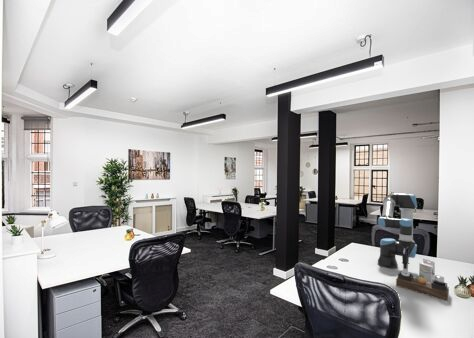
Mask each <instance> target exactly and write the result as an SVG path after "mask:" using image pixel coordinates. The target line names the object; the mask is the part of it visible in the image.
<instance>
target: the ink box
mask: <svg viewBox="0 0 474 338" xmlns="http://www.w3.org/2000/svg"><path fill="white" fill-rule="evenodd" d="M418 268H419V271H418V272H419V273H418V276H419V277H422V278H425V279H426V281H428V282H431V283H432V280H435V275H436V273H435V272H436V266H435V261H433V260H430V259H426V258H422V262H419V267H418Z"/></svg>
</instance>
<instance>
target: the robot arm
mask: <svg viewBox="0 0 474 338" xmlns="http://www.w3.org/2000/svg"><path fill="white" fill-rule="evenodd" d="M382 205H383V209H382V215H381V216H379V217H378V218H377V219H378V220H377V223H378V224H377V225H378V226H379V227H381V228H389V229H396V230H399V238H398V241H397V240H396V239H394V238H391V237H390V238H382V239H380V243H379V245H380V246H379V257H378V259H377V265H379V266H381V267H384V268H386V269H387V268H388V269H397V268H398V267H399V266H398V262H397V259H396V256H400V257H402V262H401V264H402V272H403V273H407V274H408V273H409V264H410V262H409V259H410V258H412V259H414V258H415V257H416V254H417V250H418V249H417V248H418V245H417V244H416V242H415V240H414V235H413V234H414V223H413V222H414V211H415V210H416V209H417V208H418V202H417V198H416V195H415V194H413V193H402V192H401V193H399V192H398V193H396V192H394V193H393V192H391V193H390V194H388V195H386V196H385V197H384V198H383V200H382ZM395 207H398V209H399V210H400V218H394V210H395Z"/></svg>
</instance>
